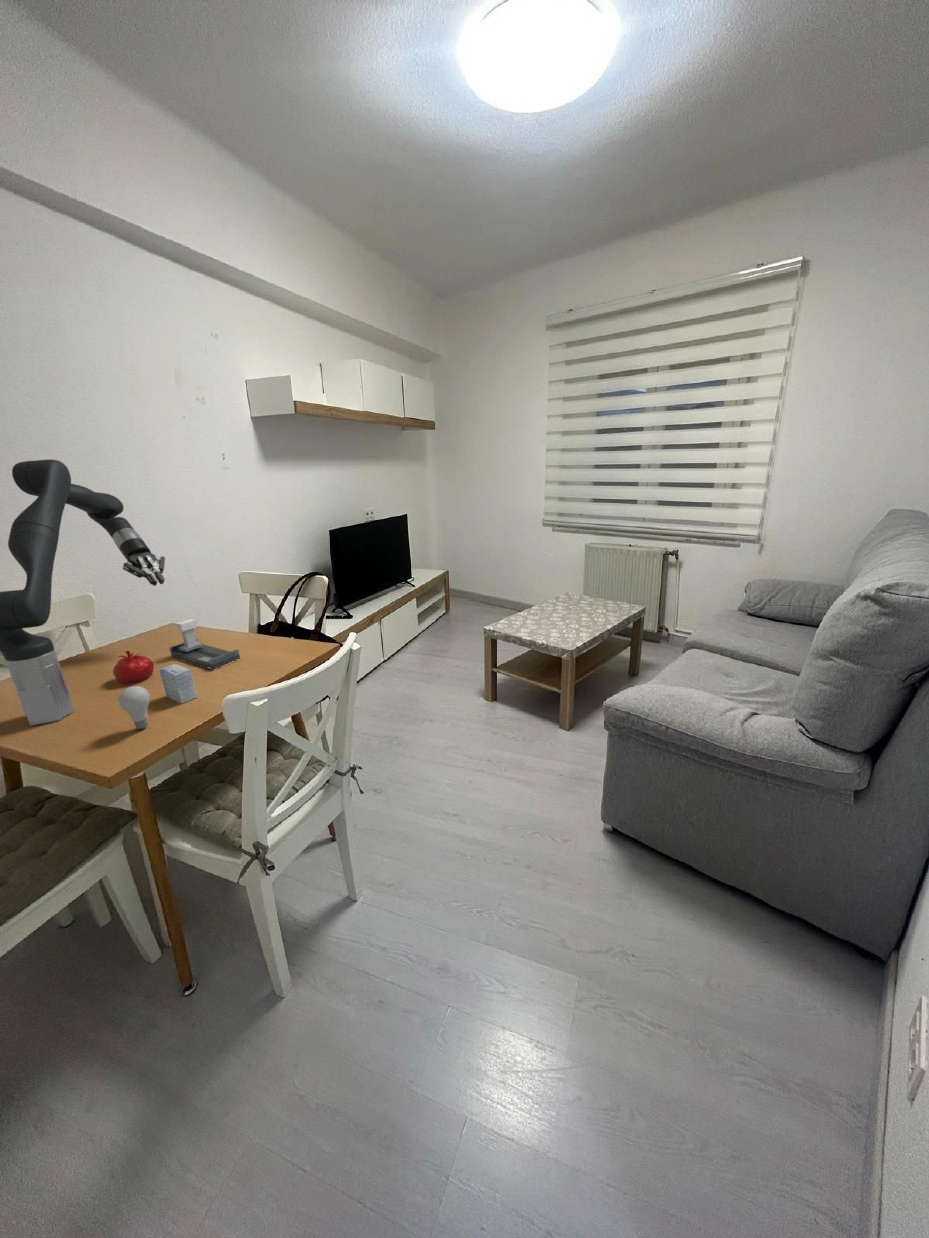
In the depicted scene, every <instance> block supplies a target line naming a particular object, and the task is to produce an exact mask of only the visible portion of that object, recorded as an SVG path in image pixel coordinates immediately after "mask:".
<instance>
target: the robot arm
mask: <svg viewBox="0 0 929 1238" xmlns="http://www.w3.org/2000/svg"><path fill="white" fill-rule="evenodd" d="M11 470H12V471H11V474H12V475H11V476H12V479H13V481H14V483H15V485H16V486H17V487H18V488H19V489H20V490H21V491H22V492H24V493H25V494H27V495H31V496H34V497H37V498H36V499H35V500H34V501H33V502H32V503H31V504H30V505H28V506H27V508H25V509H24V510H23V511H22V512H21V513H19V514H18V516H17V517H16V518H15V519H14V520H13V522H12V524H11V528H10V531H9V536H8V540H7V541H8V542H7V544H8V545H7V547H8V550H9V551H10V554H11V555H12V557H13V558H14V559H15V560H16V562H17V563H18V564H19V565H20V566H21V568H22V569H23V570H24V573H25V574H26V580H25V581H26V582H25V586H24V588H23V589H16V590H5V591H4V590H3V591H0V653H1V654H2V655H3V659H4V660H5V663H6V666H7V669H8V671H9V674H10V677H11V679H12V683H13V685H14V688H15V690H16V693H17V696H18V699H19V701H20V703H21V704H20V705H21V706H22V709H23V711H24V714H25V717H26V720H27V723H28V725H29V726H30V727H32V726H36V725H42V724H47V723H52V722H57V721H61V720H62V719H63V718H65V717H67V716H68V715H70V714H72V713H73V712H74V711H75V707H74V703H73V700H72V698H71V694H70V691H69V689H68V685H67V683H66V680H65V677H64V673H63V670H62V668H61V664H60V661H59V659H58V655H57V652H56V650H55V647H54V644H53V641H52V640H51V639H50V638H49V637H47V636H46V637H45V636H42V635H37V634H33V633H30V632H27V631H25V630H24V629H27V628H28V629H31V628H36V627H41V626H44V625H45V624H46V623H47V621H48V619H49V617H50V614H51V609H52V608H51V606H52V584H53V583H52V582H53V581H52V580H53V579H52V578H53V572H54V571H53V570H54V563H55V558H56V553H57V549H58V543H59V537H60V528H61V523H62V517H63V513H64V510H65V506H66V504H67V505H69V506H72V507H74V508H77V509H79V510H81V511H83V512H85V513H86V514H87V516H88V517H89V518H90V519H91V520H92V521H94V522H96V523H97V524H98V525H99V526H101V527H102V528H103V529H104V530H105V531H106V532H107V533H108V534H109V536H110V538H111V539H112V540H113V543H114V544H115V546H116V547H117V549H118V550H119V551H120V553H121V554H122V556H124V558H125V559H126V560H127V561H125V562H124V563H123V566H122V570H124V571H125V572H127V573H129V574H131V575H133V576H135V577H136V578H138V579H139V578H140V579H141V578H144V579H146V580H147V582H149V584H150V585H152V586H154V587H155V586H157V585H158V583H159V584H160V585H163V584H164V583H165V576H163V573H164V570H165V562H166V561H165V560H166V558H165V556H162V555H161V556H160V557H159V556H156V555H155V554H154V553H152V552H151V549H150V548H149V546H148V545H147V544H146V542H145V541H144V540H143V538H142V537H141V536H140V534H138V532H137V531H136V530H135V529H134V527H133V526H132V524H131V523H130V522H129V521H128V519H126V518H125V517H123V516H118V515H121V514H122V512H123V511H124V505H123V502H122V501H121V500H120V499H119V498H118V497H117V496H114V495H113V494H110V493H105V492H96V491H94V490H92V489H90V488H88V487H85V486H84V485H83V486H82V485H78V484H75V483H72V477H71V473H70V470H69V468H68V466H67V465H66V464H65V463H63V462H62V461H61V460H58V459H36V460H24V461H20V462H17V463H16V464H14V466H12V469H11ZM157 564H158V566H157Z"/></svg>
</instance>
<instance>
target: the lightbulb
mask: <svg viewBox="0 0 929 1238" xmlns="http://www.w3.org/2000/svg"><path fill="white" fill-rule="evenodd" d="M150 701H151V695H150V693H149V691H148V690H147V689H146V688H144V687H143V686H139V685H136V686H134V685H133V686H129V687H127V688H125V689H124V690H123V691H122V692H120V694H119V696H118V704H119V707H120V708H121V709H122V710H124V711H125V712H126V713H127V714H128V715H129V717H130V718H131V720H132V722H133V723H134V726H135V728H136V729H140V730H143V729H146V727H148V725H149V721H148V716H149V715H148V707H149V705H150Z"/></svg>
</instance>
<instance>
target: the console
mask: <svg viewBox="0 0 929 1238" xmlns="http://www.w3.org/2000/svg"><path fill="white" fill-rule="evenodd" d="M198 640H199V639H197V638H196V641H197V642H199V641H198ZM184 645H185V644H184V642H180V643H177V644H174V645H172V646H169V647H168V649H169V651H170V655H171V658H174V657H175V658H174V659H178V660H180V661H185V662H188V663H190V662H191V664H193V663H194V664H193V665H196V664H198V665H197V666H200V665H201V666H200V667H203V666H204V667H203V668H206V667H210V668H212V669H216V668H217V667H221V666H223V665H225V664H228V663H230V662H232V661H236V660H237V659H240V660H241V657H240V651H239V649H238V648H237V649H234V650H231V651H229V650H225V649H221V648H218V647H214V646H210V645H208V644H207V645H206V644H204V646H202V647H199V648H197V649H194V650H191V651H188V652H185V651H181V650H179V647H181V646H184ZM236 662H237V661H236ZM223 667H224V666H223ZM221 668H222V667H221ZM212 669H211V670H212ZM216 670H217V669H216Z"/></svg>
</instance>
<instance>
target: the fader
mask: <svg viewBox="0 0 929 1238" xmlns="http://www.w3.org/2000/svg"><path fill="white" fill-rule="evenodd" d="M175 626H176V631H179V632H181V634H182V635H181V636H182V639H183V643H184V644H185V645H184V646H181V647H179V650H181V651H185V652H188V651H191V650H194V649H197V648H199V647H202V646H204V645H205V643H203V642H199V641H198V642H197V641H196V639H197V636H196V632H195V628H198V625H197V620H196V619H192V618H189V619H186V620H182V621H179V622H175Z"/></svg>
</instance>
